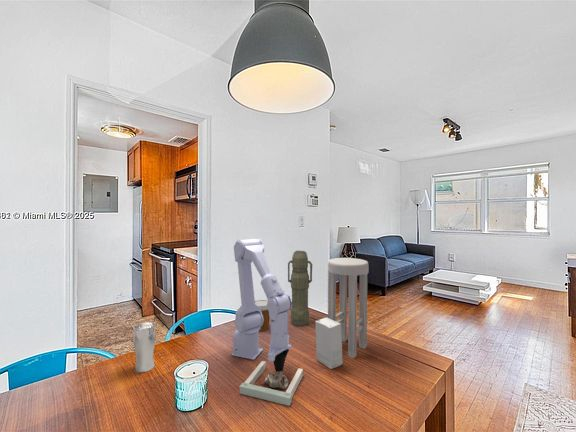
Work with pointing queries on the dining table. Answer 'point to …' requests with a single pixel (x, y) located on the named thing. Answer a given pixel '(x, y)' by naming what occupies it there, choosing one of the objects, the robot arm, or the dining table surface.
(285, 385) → the ornament
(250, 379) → the u-shaped frame
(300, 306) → the thermos
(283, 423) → the dining table surface
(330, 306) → the stool
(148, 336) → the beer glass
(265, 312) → the disposable coffee cup
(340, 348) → the skincare box
